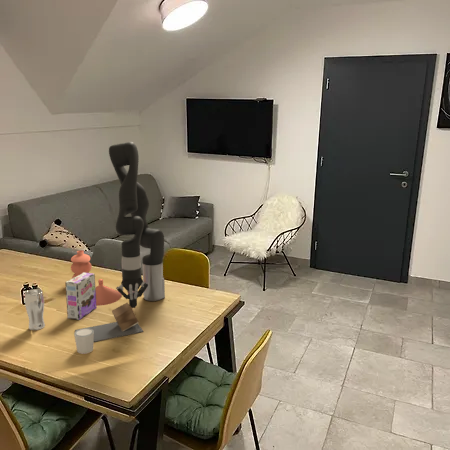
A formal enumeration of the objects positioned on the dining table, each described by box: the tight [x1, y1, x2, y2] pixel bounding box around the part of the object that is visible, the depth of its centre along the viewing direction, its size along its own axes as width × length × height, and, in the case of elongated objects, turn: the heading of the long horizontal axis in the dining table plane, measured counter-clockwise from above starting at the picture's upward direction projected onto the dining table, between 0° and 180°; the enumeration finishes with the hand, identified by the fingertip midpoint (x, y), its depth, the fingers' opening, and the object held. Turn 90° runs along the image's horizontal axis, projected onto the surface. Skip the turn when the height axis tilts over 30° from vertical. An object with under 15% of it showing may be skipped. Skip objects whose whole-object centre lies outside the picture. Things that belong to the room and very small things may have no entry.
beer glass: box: [24, 288, 46, 331], centre depth 179 cm, size 7×7×15 cm
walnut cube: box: [111, 302, 139, 331], centre depth 179 cm, size 7×7×7 cm
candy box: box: [65, 272, 98, 321], centre depth 192 cm, size 14×6×16 cm, turn 164°
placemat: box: [74, 321, 144, 343], centre depth 177 cm, size 24×13×1 cm, turn 118°
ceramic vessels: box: [70, 249, 123, 307], centre depth 215 cm, size 35×21×19 cm, turn 44°
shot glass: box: [73, 327, 95, 355], centre depth 162 cm, size 7×7×7 cm
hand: (133, 307), depth 180 cm, fingers closed
